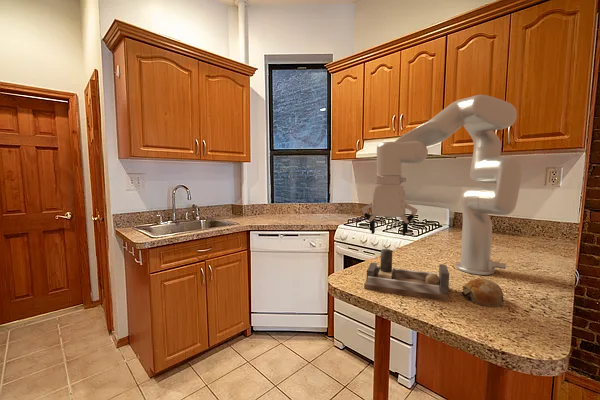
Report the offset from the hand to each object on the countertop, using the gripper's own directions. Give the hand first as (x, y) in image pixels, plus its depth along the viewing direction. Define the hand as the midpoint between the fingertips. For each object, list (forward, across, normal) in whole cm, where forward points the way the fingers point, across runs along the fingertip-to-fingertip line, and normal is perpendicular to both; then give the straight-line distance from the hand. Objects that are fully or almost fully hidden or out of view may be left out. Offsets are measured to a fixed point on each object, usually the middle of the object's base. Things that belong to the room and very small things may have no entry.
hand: (388, 233), depth 92 cm
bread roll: (+18, -26, +2) cm, 32 cm away
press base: (+17, -5, +1) cm, 18 cm away
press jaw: (+15, 0, +1) cm, 15 cm away
